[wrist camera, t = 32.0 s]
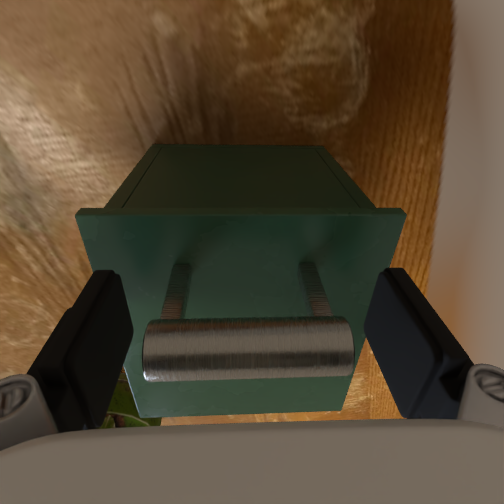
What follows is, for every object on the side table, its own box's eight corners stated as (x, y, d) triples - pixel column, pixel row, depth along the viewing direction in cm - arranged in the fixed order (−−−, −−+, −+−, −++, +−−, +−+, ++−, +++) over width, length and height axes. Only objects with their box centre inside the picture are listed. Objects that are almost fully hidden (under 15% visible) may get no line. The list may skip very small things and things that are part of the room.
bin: (152, 143, 22) (89, 224, 13) (323, 145, 23) (391, 223, 13) (172, 284, 29) (142, 408, 19) (303, 282, 30) (338, 401, 20)
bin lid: (80, 207, 12) (-12, 314, 7) (400, 207, 12) (494, 304, 8) (142, 408, 19) (115, 520, 15) (338, 401, 20) (369, 506, 16)
